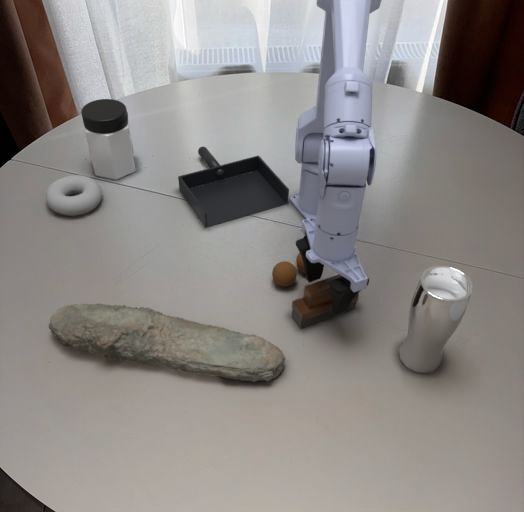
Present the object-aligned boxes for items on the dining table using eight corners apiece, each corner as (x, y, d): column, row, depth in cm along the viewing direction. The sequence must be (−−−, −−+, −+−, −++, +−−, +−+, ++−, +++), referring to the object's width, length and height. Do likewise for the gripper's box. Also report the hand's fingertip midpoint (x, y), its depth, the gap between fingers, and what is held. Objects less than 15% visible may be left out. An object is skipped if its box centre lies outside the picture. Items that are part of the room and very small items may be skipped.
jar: (137, 178, 112) (128, 119, 103) (95, 182, 111) (81, 123, 102) (134, 153, 118) (124, 95, 109) (93, 157, 117) (80, 99, 108)
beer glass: (446, 346, 86) (477, 271, 75) (440, 381, 82) (471, 307, 71) (400, 334, 88) (423, 258, 76) (391, 368, 84) (414, 293, 72)
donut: (39, 215, 105) (91, 222, 103) (33, 199, 102) (86, 206, 101) (62, 184, 111) (111, 190, 110) (57, 168, 108) (108, 174, 107)
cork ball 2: (311, 259, 98) (313, 241, 95) (323, 274, 96) (326, 255, 93) (291, 266, 97) (292, 247, 94) (302, 281, 95) (304, 262, 92)
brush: (345, 295, 93) (350, 266, 88) (356, 308, 91) (362, 279, 86) (290, 315, 90) (293, 286, 85) (301, 329, 88) (304, 300, 83)
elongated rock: (275, 405, 80) (288, 353, 87) (279, 381, 77) (292, 329, 83) (37, 351, 83) (67, 305, 90) (29, 325, 79) (62, 280, 86)
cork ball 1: (288, 271, 96) (290, 253, 93) (300, 286, 94) (302, 268, 91) (267, 279, 95) (268, 260, 92) (278, 294, 93) (279, 276, 90)
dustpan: (288, 203, 108) (289, 189, 106) (205, 227, 103) (204, 213, 101) (238, 147, 120) (238, 133, 118) (162, 166, 115) (160, 152, 113)
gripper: (284, 200, 80) (280, 273, 90) (340, 263, 72) (328, 336, 82) (328, 187, 82) (319, 260, 93) (387, 247, 74) (370, 320, 84)
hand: (326, 295), depth 88 cm, fingers open, 7 cm apart
